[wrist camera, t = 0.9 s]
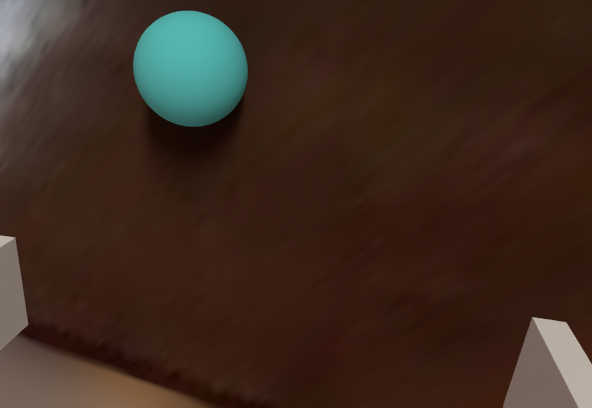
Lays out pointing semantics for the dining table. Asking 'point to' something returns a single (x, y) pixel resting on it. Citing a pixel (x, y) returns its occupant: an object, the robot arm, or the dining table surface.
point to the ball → (190, 68)
